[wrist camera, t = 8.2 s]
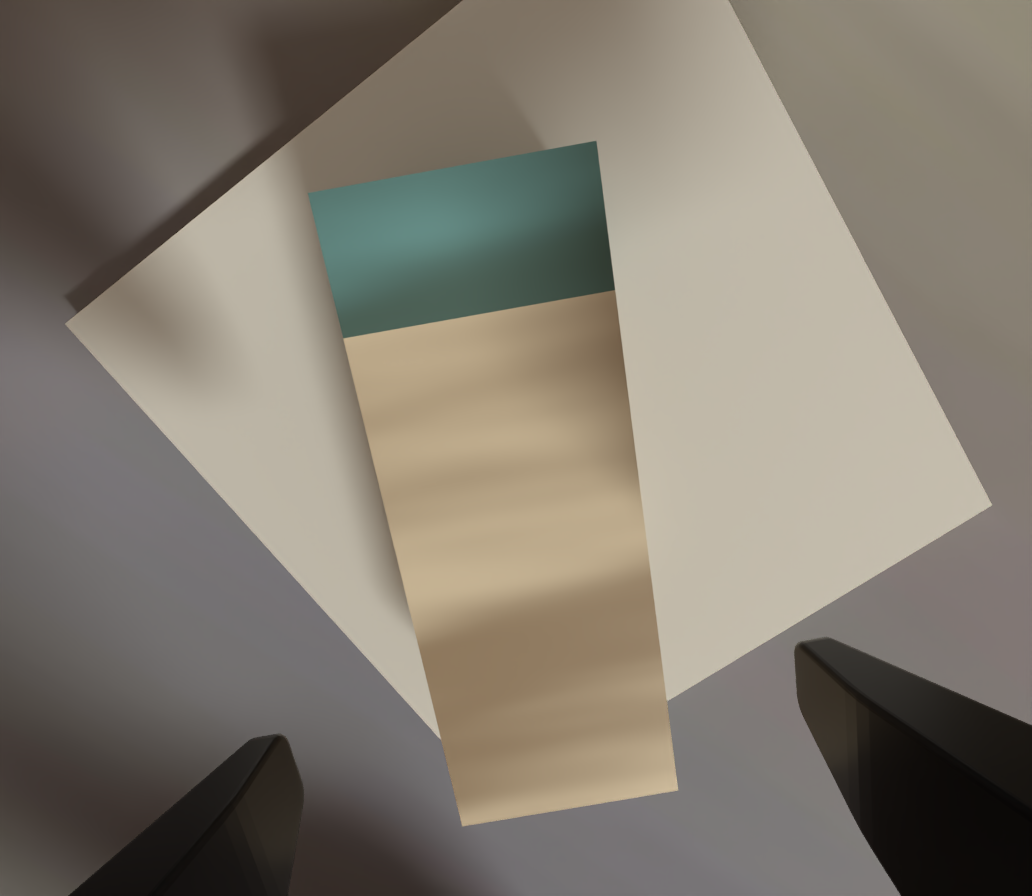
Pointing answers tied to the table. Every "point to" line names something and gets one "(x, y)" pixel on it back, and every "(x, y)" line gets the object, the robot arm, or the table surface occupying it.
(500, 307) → the birch block
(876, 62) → the table surface
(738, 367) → the cream square tile
